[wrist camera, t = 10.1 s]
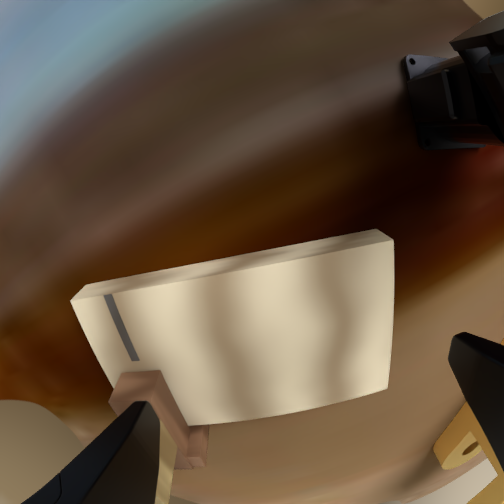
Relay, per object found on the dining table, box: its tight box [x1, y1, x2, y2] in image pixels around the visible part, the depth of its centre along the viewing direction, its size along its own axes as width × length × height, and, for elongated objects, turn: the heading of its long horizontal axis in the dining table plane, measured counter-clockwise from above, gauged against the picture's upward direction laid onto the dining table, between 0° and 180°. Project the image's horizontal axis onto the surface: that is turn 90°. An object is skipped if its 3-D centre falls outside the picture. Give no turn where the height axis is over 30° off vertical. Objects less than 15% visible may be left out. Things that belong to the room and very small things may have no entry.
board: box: [70, 229, 394, 426], centre depth 20 cm, size 20×12×3 cm, turn 101°
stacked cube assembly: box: [108, 370, 209, 504], centre depth 17 cm, size 5×8×10 cm, turn 11°
